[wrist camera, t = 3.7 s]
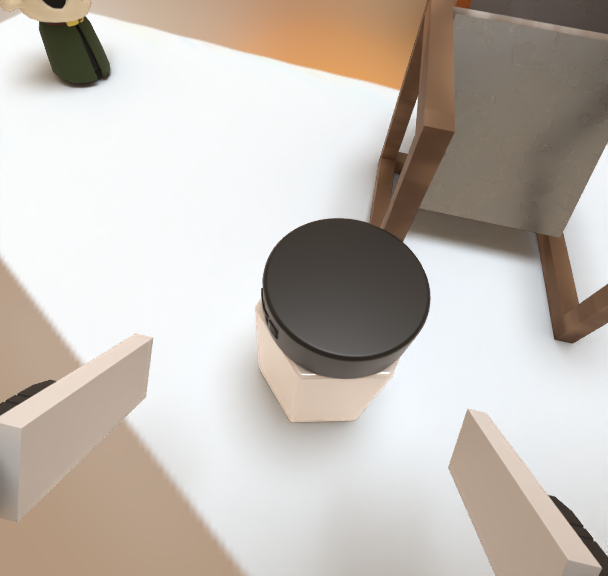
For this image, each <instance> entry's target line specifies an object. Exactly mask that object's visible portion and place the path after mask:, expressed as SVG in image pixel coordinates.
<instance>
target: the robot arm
mask: <svg viewBox="0 0 608 576" xmlns="http://www.w3.org/2000/svg"><path fill="white" fill-rule="evenodd" d="M152 343H153V337H148V336H144V335H139V334H134V335H132V336H131V337H129V338H127V339H126V340H124V341H122V342H121V343H119V344H118V345H116V346H114V347H113V348H111V349H109V350H108V351H106V352H104V353H103V354H101V355H99V356H98V357H96V358H94V359H93V360H91V361H90V362H88V363H86V364H85V365H83V366H81V367H80V368H78V369H77V370H75V371H73V372H72V373H70V374H68V375H67V376H65V377H63V378H62V379H60V380H58V381H53V380H48V381H45V382H41V383H38V384H35V385H32V386H30V387H28V388H27V389H25V390H23V391H21V392H20V393H18V395H14V396H13V397H11V398H9V399H7V400H6V402H2V403H1V404H0V518H2V519H6V520H11V521H14V522H18V521H19V520H20V519H21V518H22V517H23V516H24V515H25V514H26V513H27V512H28V511H29V510H31V509H32V508H33V507H34V506H35V505H36V504H37V503H38V502H39V501H40V500H41V499H42V498H43V497H44V496H45V495H46V494H47V493H48V492H49V491H50V490H51V489H52V488H53V487H54V486H55V485H56V484H57V483H58V482H59V481H60V480H61V479H62V478H63V477H64V476H65V475H66V474H67V473H68V472H69V471H70V470H72V468H73V467H74V466H76V465H77V464H78V463H79V462H80V461H81V460H82V459H83V458H84V457H85V456H86V455H87V454H88V453H89V452H90V451H91V450H92V449H93V448H94V447H95V446H96V445H97V444H98V443H99V442H100V441H101V440H102V439H103V438H104V437H105V436H106V435H107V434H108V433H110V431H112V430H113V429H114V428H115V427H116V426H117V425H118V424H119V423H120V422H121V421H122V420H123V419H124V418H125V417H126V416H127V415H128V414H129V413H130V412H131V411H132V410H133V409H134V408H135V407H136V406H137V405H138V404H139V403H140V402H141V401H142V400H143V399H144V398H145V397H146V392H147V384H148V376H149V367H150V359H151V351H152ZM448 468H449V470H450V473H451V475H452V477H453V480H454V482H455V484H456V486H457V489H458V491H459V493H460V496H461V498H462V500H463V502H464V505H465V507H466V509H467V512H468V514H469V516H470V518H471V521H472V523H473V525H474V528H475V530H476V532H477V534H478V537H479V539H480V541H481V544H482V546H483V548H484V550H485V553H486V555H487V557H488V560H489V562H490V564H491V566H492V569H493V571H494V573H495V576H608V557H607V555H606V554H605V553H604V552H603V550H602V549H601V548H600V546H599V545H598V544H597V543H596V542H595V541H593V538H592V536H591V535H590V534H589V532H588V531H587V530H586V529H584V528H583V525H582V524H581V522H580V521H579V520H578V518H577V517H576V516H575V515H574V513H573V512H572V511H571V510H570V509H569V508H568V507H566V506H565V505H564V504H563V503H562V502H561V501H559V500H558V499H557V498H556V497H554V496H550V495H547V493H546V492H545V491H544V489H543V488H542V487H541V485H540V484H539V483H538V481H537V480H536V479H535V477H534V476H533V475H532V473H531V472H530V471H529V469H528V468H527V467H526V465H525V464H524V463H523V461H522V460H521V459H520V457H519V456H518V455H517V453H516V452H515V450H514V449H513V448H512V446H511V445H510V444H509V442H508V441H507V440H506V438H505V437H504V436H503V434H502V433H501V432H500V430H499V429H498V428H497V426H496V425H495V424H494V422H493V421H492V420H491V418H490V417H489V416H488V414H487V413H483V412H479V411H475V410H470V409H467V412H466V415H465V418H464V421H463V425H462V428H461V431H460V434H459V437H458V440H457V443H456V446H455V449H454V452H453V455H452V458H451V461H450V464H449V467H448Z"/></svg>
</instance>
